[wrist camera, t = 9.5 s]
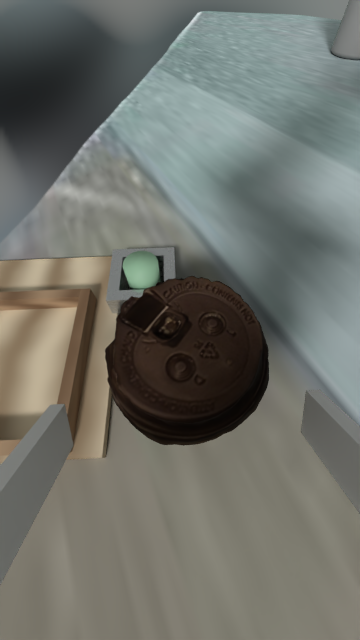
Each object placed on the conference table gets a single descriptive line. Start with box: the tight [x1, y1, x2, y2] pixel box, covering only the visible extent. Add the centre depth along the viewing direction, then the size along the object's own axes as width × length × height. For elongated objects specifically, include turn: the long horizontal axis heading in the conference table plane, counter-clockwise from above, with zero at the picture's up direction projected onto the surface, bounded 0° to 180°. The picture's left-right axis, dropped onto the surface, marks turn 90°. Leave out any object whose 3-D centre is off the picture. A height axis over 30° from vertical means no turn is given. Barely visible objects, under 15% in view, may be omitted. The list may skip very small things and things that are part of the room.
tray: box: [0, 256, 118, 463], centre depth 23 cm, size 18×22×3 cm
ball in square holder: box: [106, 247, 176, 315], centre depth 26 cm, size 7×7×4 cm
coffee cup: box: [105, 276, 269, 445], centre depth 16 cm, size 9×8×13 cm
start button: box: [123, 251, 161, 290], centre depth 25 cm, size 4×4×4 cm
